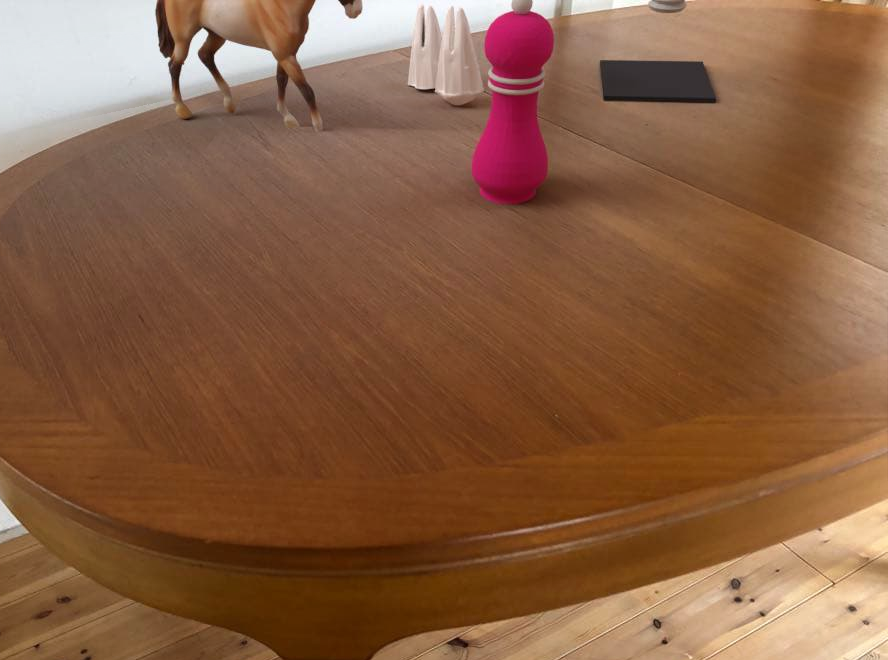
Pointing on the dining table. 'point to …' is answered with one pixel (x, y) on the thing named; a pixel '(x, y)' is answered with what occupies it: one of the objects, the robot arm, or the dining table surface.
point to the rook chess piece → (667, 6)
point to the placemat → (656, 81)
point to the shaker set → (445, 57)
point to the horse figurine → (241, 41)
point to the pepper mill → (514, 107)
